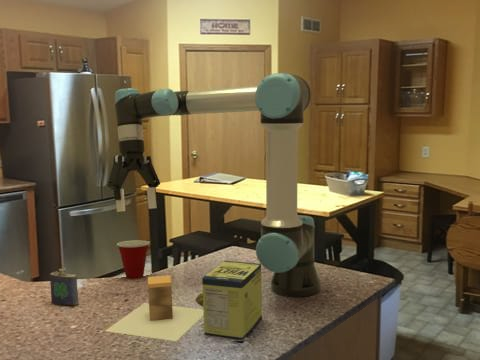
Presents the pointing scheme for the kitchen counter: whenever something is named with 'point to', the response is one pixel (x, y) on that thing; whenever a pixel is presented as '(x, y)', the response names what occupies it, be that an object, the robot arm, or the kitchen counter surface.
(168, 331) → the cream board
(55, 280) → the flask
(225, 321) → the protein box
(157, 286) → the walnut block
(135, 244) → the plastic cup
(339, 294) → the kitchen counter surface
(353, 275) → the kitchen counter surface
